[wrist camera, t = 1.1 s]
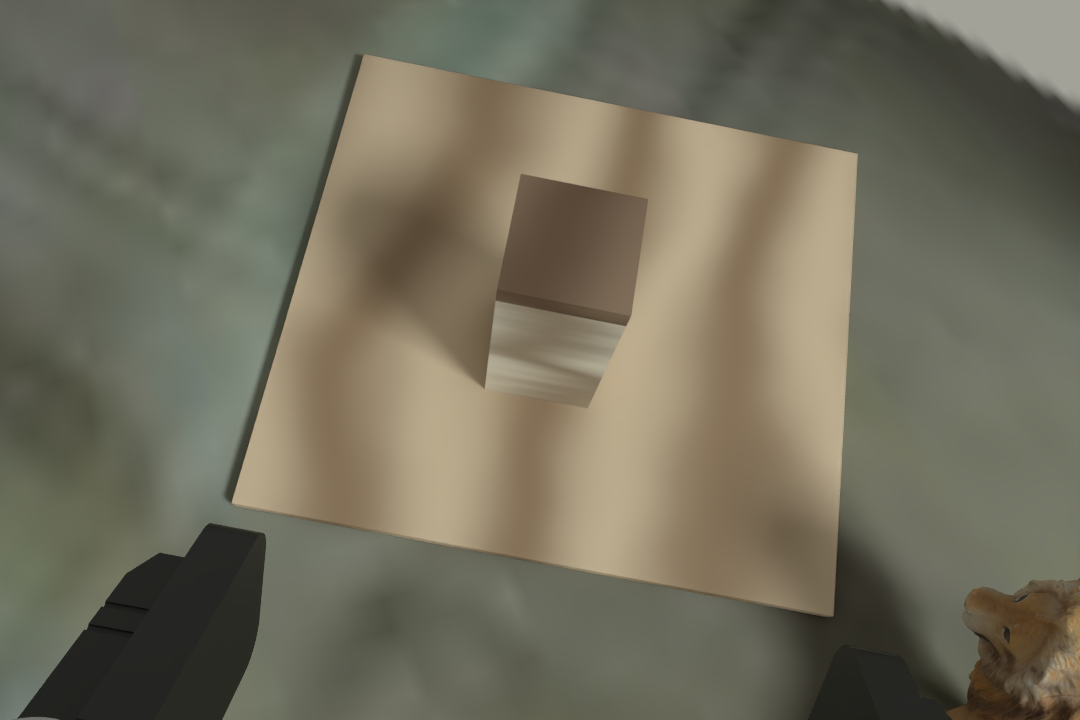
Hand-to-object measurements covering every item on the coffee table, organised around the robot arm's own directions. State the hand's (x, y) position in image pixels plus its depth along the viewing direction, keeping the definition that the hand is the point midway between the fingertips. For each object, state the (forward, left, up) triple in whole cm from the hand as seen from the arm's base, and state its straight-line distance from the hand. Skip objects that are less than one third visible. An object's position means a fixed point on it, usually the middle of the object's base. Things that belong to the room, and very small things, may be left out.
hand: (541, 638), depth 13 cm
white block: (0, -12, -20) cm, 24 cm away
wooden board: (-1, -14, -21) cm, 25 cm away
